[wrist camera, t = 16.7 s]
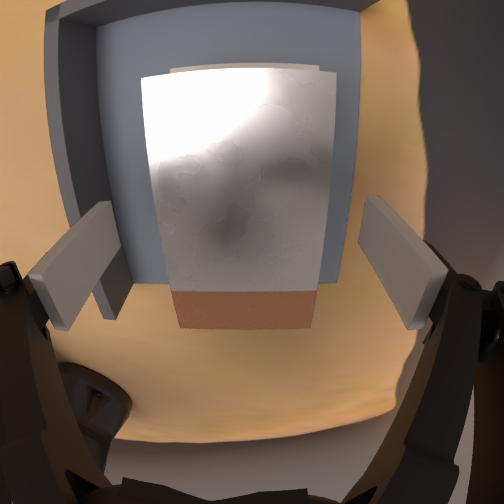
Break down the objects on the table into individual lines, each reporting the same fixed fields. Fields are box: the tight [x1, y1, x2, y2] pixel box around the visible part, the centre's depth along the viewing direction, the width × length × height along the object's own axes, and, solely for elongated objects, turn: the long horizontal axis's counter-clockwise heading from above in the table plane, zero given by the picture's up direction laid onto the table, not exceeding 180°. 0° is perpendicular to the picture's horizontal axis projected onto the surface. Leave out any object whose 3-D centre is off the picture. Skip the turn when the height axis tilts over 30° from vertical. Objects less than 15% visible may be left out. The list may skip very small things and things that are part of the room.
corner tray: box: [44, 0, 379, 320], centre depth 17 cm, size 20×24×6 cm
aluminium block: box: [141, 68, 337, 329], centre depth 17 cm, size 14×8×8 cm, turn 1°
